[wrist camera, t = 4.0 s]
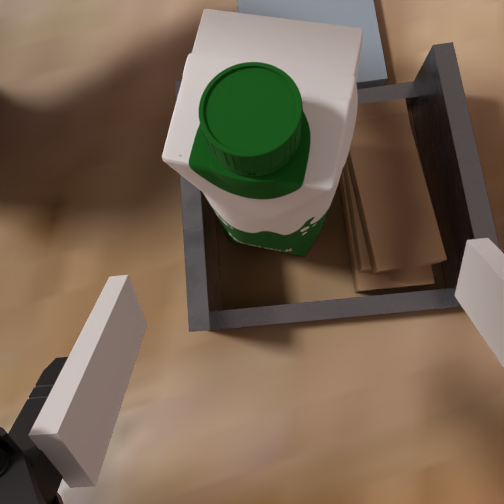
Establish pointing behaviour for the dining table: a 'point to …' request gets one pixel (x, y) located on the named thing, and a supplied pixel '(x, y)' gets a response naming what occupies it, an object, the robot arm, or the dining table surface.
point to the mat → (337, 13)
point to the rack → (440, 191)
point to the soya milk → (266, 123)
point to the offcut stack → (388, 203)
